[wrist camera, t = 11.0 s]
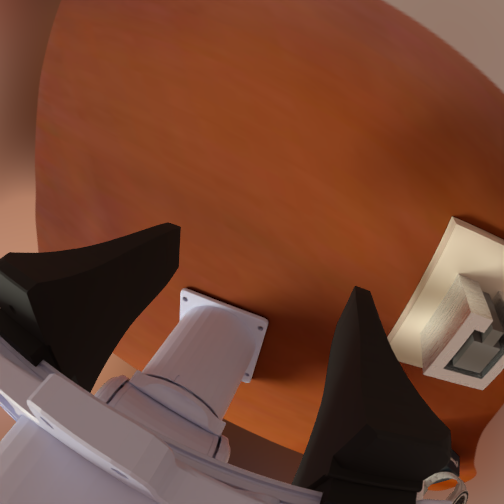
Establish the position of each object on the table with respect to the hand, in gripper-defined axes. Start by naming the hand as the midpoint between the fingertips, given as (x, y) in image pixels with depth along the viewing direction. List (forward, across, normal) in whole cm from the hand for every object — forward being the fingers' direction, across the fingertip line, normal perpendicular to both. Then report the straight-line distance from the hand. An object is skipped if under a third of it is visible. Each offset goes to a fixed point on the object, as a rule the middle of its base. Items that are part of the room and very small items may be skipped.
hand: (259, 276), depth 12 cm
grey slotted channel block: (+8, -14, +4) cm, 17 cm away
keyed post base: (+9, -14, +4) cm, 17 cm away
